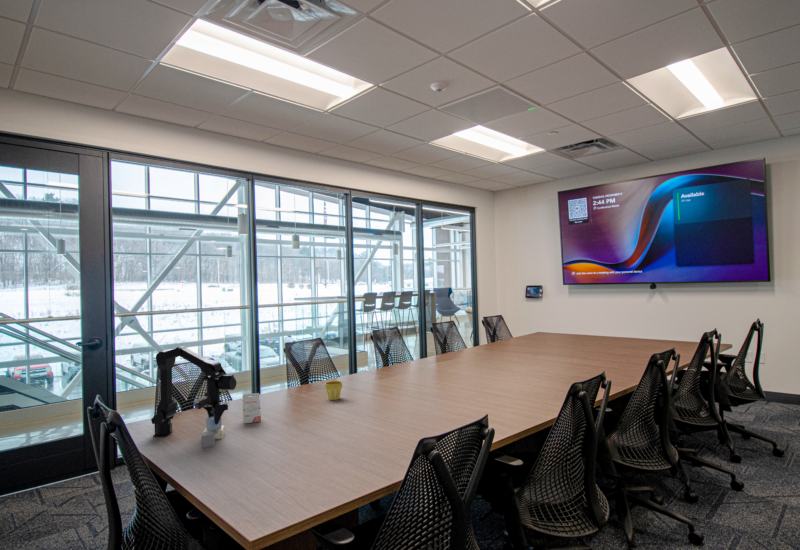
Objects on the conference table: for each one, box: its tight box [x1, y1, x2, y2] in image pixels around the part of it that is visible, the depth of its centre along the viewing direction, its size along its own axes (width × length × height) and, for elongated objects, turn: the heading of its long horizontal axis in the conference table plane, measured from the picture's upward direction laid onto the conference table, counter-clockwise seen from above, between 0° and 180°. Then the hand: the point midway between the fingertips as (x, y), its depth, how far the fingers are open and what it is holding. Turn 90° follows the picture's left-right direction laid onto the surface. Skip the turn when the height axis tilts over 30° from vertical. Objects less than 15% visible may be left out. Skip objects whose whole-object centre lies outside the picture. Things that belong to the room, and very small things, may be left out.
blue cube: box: [205, 416, 223, 431], centre depth 207 cm, size 5×5×5 cm
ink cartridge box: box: [242, 392, 262, 424], centre depth 229 cm, size 9×5×15 cm, turn 105°
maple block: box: [202, 424, 226, 440], centre depth 207 cm, size 8×8×4 cm
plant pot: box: [324, 380, 343, 401], centre depth 270 cm, size 10×10×10 cm
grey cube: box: [200, 431, 216, 448], centre depth 196 cm, size 5×5×5 cm
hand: (213, 423), depth 207 cm, fingers open, 6 cm apart
